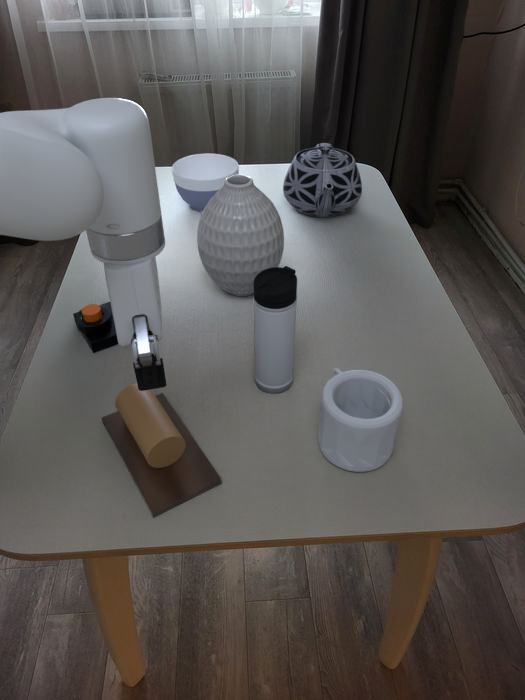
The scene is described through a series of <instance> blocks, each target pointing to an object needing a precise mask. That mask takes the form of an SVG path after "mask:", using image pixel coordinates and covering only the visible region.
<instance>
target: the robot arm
mask: <svg viewBox="0 0 525 700" xmlns="http://www.w3.org/2000/svg"><path fill="white" fill-rule="evenodd" d="M153 148H154V147H153V141H152V134H151V128H150V121H149V118H148V115H147V113H146V111H145V110H144V108H143V107H142V106H141V105H139V104H138V103H136V102H134V101H132V100H129V99H125V98H124V99H123V98H119V97H118V98H117V97H101V98H99V97H98V98H92V99H87V100H84V101H82V102H79V103H76V104H74V105H72V106H71V107H65V108H53V109H37V110H35V109H34V110H33V109H31V110H10V111H4V112H0V236H6V237H12V238H13V237H14V238H19V239H26V240H31V241H41V242H44V241H46V242H52V241H53V242H54V241H63V240H68V239H72V238H74V237H76V236H79V235H80V234H82V233H84V232H86V236H87V240H88V245H89V249H90V253H91V256H92V257H93V258H94V259H95V260H97V261H99V262H101V263H103V269H104V277H105V282H106V288H107V293H108V299H109V302H110V303H111V308H112V313H113V318H114V323H115V328H116V333H117V339H118V345H119V346H121V347H122V348H124V347H130V346H131V347H132V348H131V349H132V356H133V363H132V366H133V371H134V375H135V380H136V383H137V385H138V389H139V390H140V391H144V390H156V389H161V388H166V387H167V385H168V383H167V377H166V372H165V371H166V370H165V365H164V359H163V357H161V356H160V355H161V354H160V348H159V343H158V342H160V341H161V340H162V339H163V313H162V299H161V298H162V297H161V289H160V279H159V272H158V264H157V256H159V255H160V254H161V253H162V252H163V251H164V249H165V247H166V238H165V230H164V222H163V216H162V208H161V200H160V193H159V185H158V179H157V177H158V176H157V171H156V163H155V157H154V150H153ZM135 337H136V338H135ZM151 343H152V347H153V352H152V350H151Z"/></svg>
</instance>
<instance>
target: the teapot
mask: <svg viewBox="0 0 525 700" xmlns="http://www.w3.org/2000/svg"><path fill="white" fill-rule="evenodd" d="M362 183H363V182H362V178H361V174H360V170H359V168H358V165H357V161H356V159H355V157H354V156H353V154H351V153H350V152H348V151H346V150H343V149H340V148H336V147H334V146H333V145H332V144H331V143H327V142H321V143H317V145H315V147H310V148H305V149H303V150H300V151H299V152H297V153H296V154H295V155H294V157H293V159H292V161H291V162H290V165H289V167H288V168H287V171H286V174H285V176H284V180H283V185H282V192H283V196H284V198H285V200H286V201H287V202H288V203H289V205H291V206H292V207H293V208H294V209H295V210H296V211H297V212H299V213H301V214H303V215H307V216H311V217H318V218H329V217H335V216H339V215H343V214H344V213H346V212H347V211H348V210H350V209H351V208H353V207H354V206H355V205H356V204H357V203H358V202H359V201H360V199H361V196H362V194H363V184H362Z"/></svg>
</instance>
